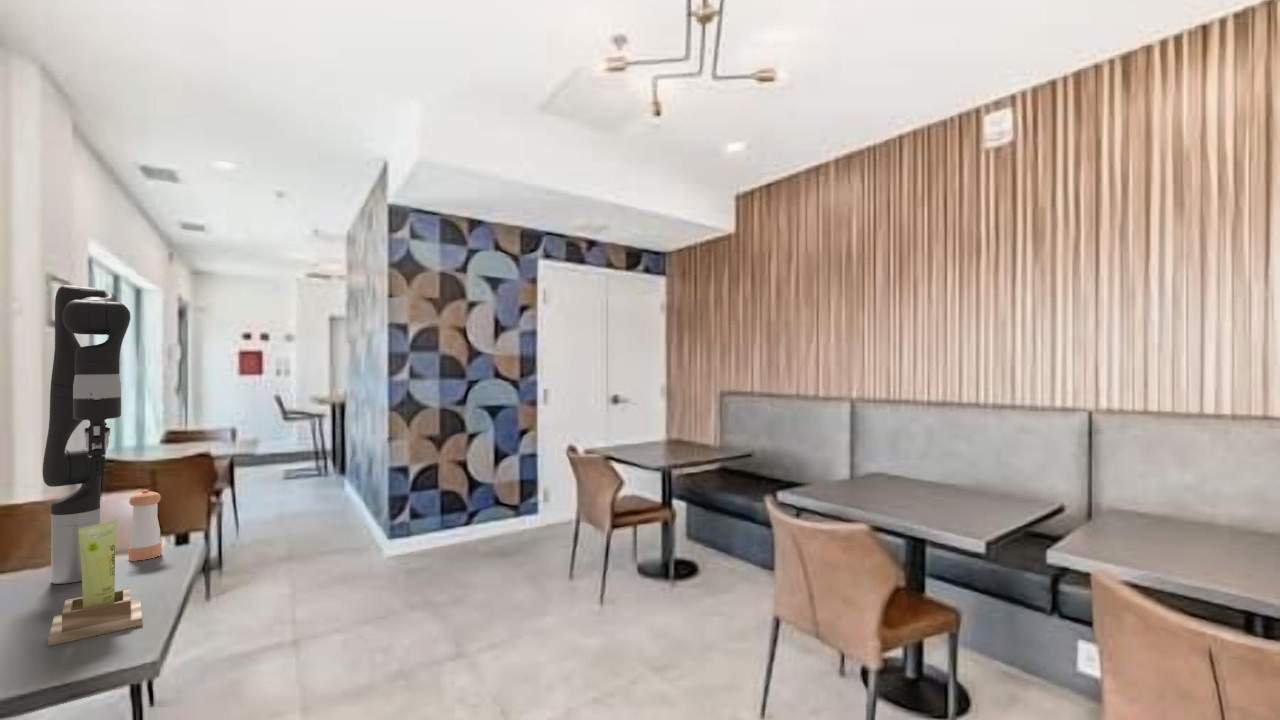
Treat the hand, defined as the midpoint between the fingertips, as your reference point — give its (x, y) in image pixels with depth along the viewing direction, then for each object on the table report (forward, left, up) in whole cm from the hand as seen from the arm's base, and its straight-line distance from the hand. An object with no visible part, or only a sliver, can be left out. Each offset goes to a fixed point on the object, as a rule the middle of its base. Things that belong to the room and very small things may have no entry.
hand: (97, 473), depth 127 cm
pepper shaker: (-52, +9, -32) cm, 62 cm away
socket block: (0, 0, -32) cm, 32 cm away
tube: (0, 0, -30) cm, 30 cm away
